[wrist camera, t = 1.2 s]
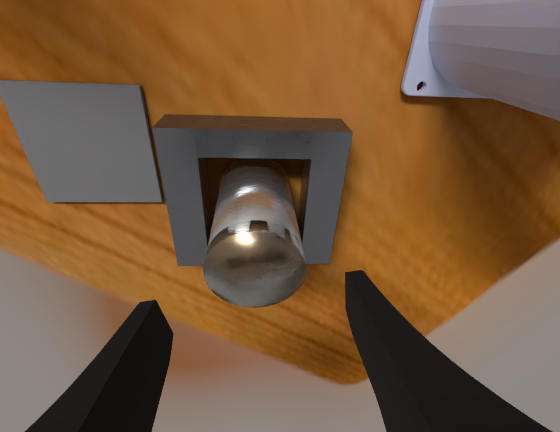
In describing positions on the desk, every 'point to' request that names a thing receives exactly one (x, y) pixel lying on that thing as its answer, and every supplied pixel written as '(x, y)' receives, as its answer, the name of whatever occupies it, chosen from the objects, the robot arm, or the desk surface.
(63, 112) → the mat
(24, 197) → the desk surface
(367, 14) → the desk surface
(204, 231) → the housing
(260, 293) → the metal cylinder
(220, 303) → the desk surface
